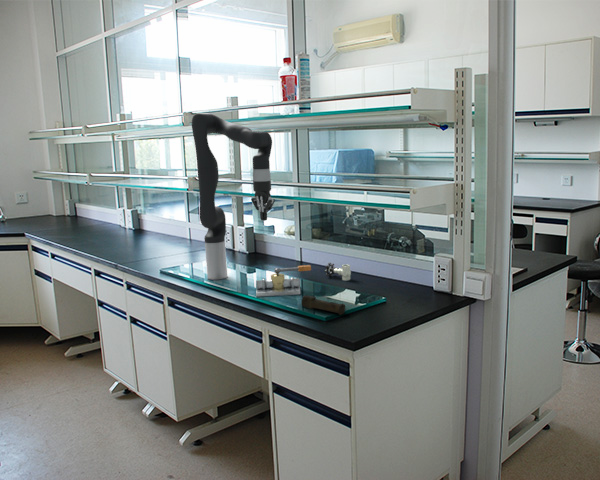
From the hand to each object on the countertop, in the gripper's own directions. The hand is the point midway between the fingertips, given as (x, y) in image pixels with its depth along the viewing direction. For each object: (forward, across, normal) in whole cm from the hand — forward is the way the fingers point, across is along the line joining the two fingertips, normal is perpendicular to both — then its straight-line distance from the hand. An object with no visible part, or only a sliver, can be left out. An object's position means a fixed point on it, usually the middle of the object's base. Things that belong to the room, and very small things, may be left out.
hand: (263, 220), depth 235 cm
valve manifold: (+28, -12, +4) cm, 31 cm away
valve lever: (+20, -15, -1) cm, 26 cm away
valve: (+29, -19, -26) cm, 44 cm away
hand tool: (+29, -43, +13) cm, 53 cm away
